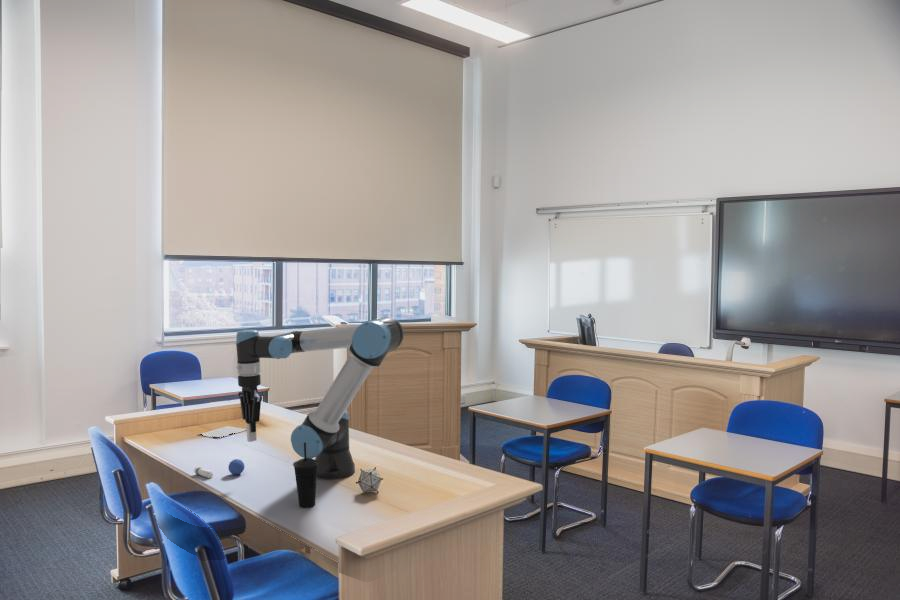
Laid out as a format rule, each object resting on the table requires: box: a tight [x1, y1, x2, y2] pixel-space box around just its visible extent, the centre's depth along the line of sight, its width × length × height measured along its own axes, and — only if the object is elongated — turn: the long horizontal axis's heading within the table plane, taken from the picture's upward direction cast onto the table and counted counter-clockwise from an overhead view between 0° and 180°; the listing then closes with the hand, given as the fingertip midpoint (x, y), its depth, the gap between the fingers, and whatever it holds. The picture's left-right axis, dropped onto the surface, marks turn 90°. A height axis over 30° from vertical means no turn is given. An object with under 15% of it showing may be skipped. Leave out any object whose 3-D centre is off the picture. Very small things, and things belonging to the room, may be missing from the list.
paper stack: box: [200, 425, 247, 439], centre depth 295 cm, size 23×25×1 cm
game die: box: [355, 466, 384, 496], centre depth 220 cm, size 9×8×10 cm
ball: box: [228, 458, 245, 476], centre depth 241 cm, size 6×6×6 cm
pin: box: [193, 466, 214, 479], centre depth 240 cm, size 2×2×8 cm
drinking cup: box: [292, 442, 318, 509], centre depth 209 cm, size 8×8×20 cm
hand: (252, 440), depth 235 cm, fingers closed
